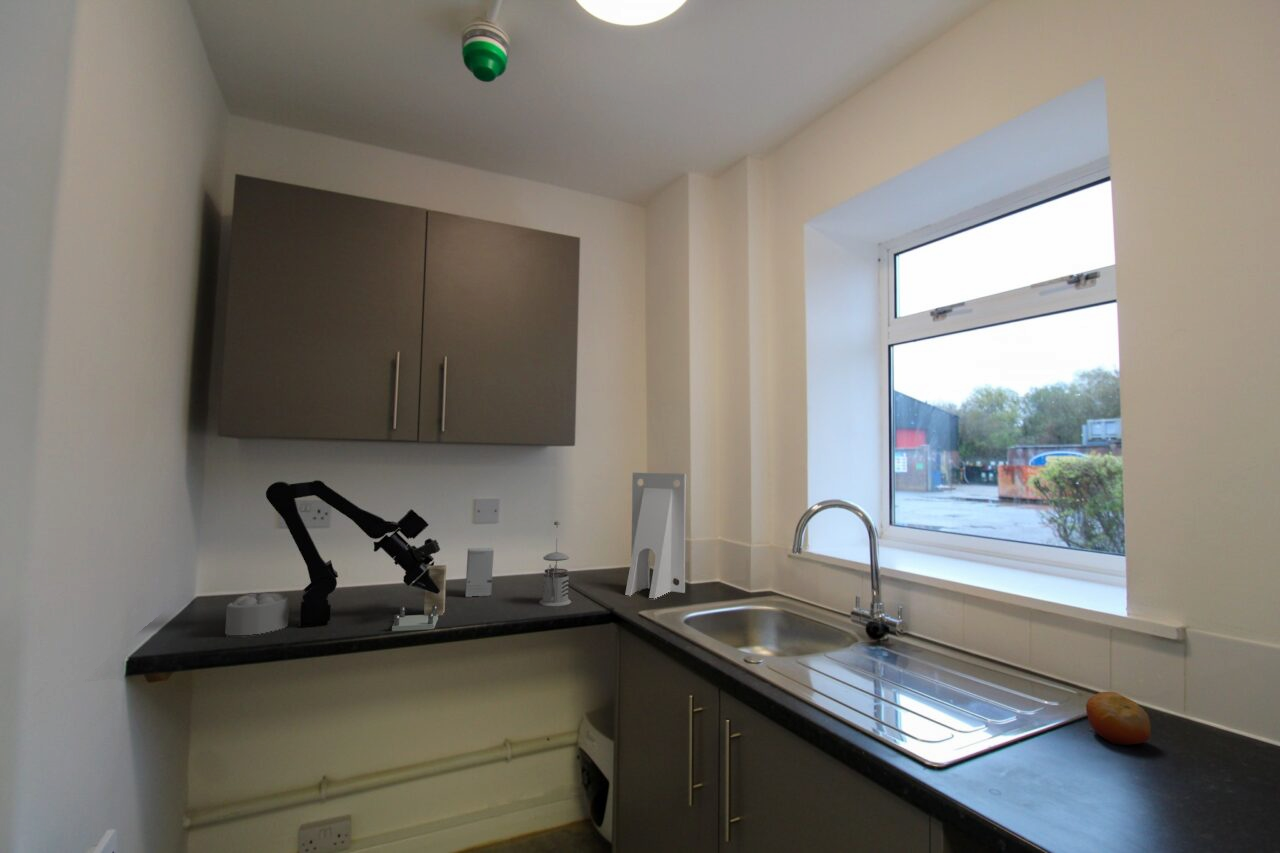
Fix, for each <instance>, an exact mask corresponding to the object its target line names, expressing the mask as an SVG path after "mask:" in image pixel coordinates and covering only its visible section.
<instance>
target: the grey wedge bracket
mask: <svg viewBox="0 0 1280 853" xmlns="http://www.w3.org/2000/svg"><path fill="white" fill-rule="evenodd" d="M640 479H641V480H642V482H643V483H642V485H640V484H639V480H640ZM676 480H677V481H679V486H676V485H675V482H676ZM686 484H687V474H686V473H671V472H670V473H668V472H632V486H631V487H632V489H631V490H632V492H631V493H632V495H631V497H632V498H631V500H632V501H631V555H630V557H631V559H630V560H631V561H630V566H629V572H628V577H627V581H626V582H627V583H626V588H625V593H624V594H625V595H629V596H628V597H632V596H631V595H633V594H636V593H638V592H641V591H643V590H645V589H647V588H648V589H650V590H649V595H648V599H649V598H654V599H653V600H656V599H658V598H657V597H659V598H660V596H661V597H662V595H663V596H665V595H667V594H669V593H670V592H672V593H673V592H674V593H681V594H682V593H683V594H685V593H686V519H687V518H686V512H687V510H686V509H687V508H686V506H687V505H686V503H687V496H686V495H687V492H686V490H687V488H686V487H687V485H686ZM651 550H652V552H653V553H654V558H655V560H654V564H653V565H654V566H653V570H652V571H653V572H652V576H651V582H650V573H651V572H650V568H651V566H650V565H651V564H650V559H651V557H650V556H651V555H650V554H651ZM674 579H677V580H678V582H679V583H678V584H675V583H674V581H675V580H674ZM650 584H651V585H650ZM642 589H643V590H642ZM637 591H638V592H637ZM635 592H636V593H635ZM668 592H669V593H668ZM666 593H667V594H666ZM664 594H665V595H664ZM625 595H624V596H625ZM655 598H656V599H655Z"/></svg>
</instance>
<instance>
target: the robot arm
mask: <svg viewBox="0 0 1280 853" xmlns="http://www.w3.org/2000/svg"><path fill="white" fill-rule="evenodd" d="M265 496H266V497H265V498H266V500H267V501H268V502H269V504H270V505H271V506H272V507H273V509H274V510H275V511H276V512H277V513H278V514H279V516H280V517H282V519H283V521H284V523H285V525H286V527H287V529H288V531H289V533H290V535H291V537H292V539H293V540H294V543H295V545H296V547H297V549H298V551H299V553H300V555H301V557H302V558H303V561H304V563H305V565H306V567H307V572H308V576H309V579H310V581H309V582H310V583H309V584H308V585H307V586H306V587H305V588H303V590H302V599H301V601H300V614H299V615H300V616H299V617H300V619H299V625H298V627H299V628H307V627H317V626H325V625H326V626H327V625H328V624H329V621H331V607H332V604H331V602H329V595H330V594H332V593H333V592H334V591H335V590H336V588H337V585H338V581H337V578H338V577H339V574H338V571H336V570H335V569H334V567H333V563H332V560H328V561H326V560H324V559H323V557H322V556H321V554H320V553H319V550H318V549H317V547H316V545H315V542H314V540H313V539H312V536H311V534H310V532H309V531H308V529H307V527H306V524H305V522H304V521H303V518H302V516H301V514H300V513H299V510H298V506H297V501H296V499H299V498H306V497H311V496H315V497H316V498H318V499H320V500H322V501H323V502H325V503H326V504H327V505H329V506H330V507H332V508H333V509H335V510H336V511H338V512H339V513H341V514H342V515H344V516H345V517H347V518H348V519H349V520H351V521H352V522H353V523H354V524H355V525H356V526H358V527H359V528H360V530H362V532H364V533H365V534H366V536H368V537H369V538H371V539H372V540H378V539H380V540H379V541H373V552H375V553H377V552H378V551H379V550H380V549H382V550H383V552H385V553H386V554H387V555H388V556H389V557H390V558H391V559H392V560H393V561H394V562H393V563H394V565H395V566H397V565H398V566H399V567H400V568H402V569H403V570H404V575H403V582H404V584H406V586H408V587H409V586H411V587H415V588H418V589H421V590H424V591H425V590H427V591H430V592H433V593H436V594H438V593H439V592H440V590H439V588H438V587H437V585H436V584H435V583H434V581H433V580H432V579H431V577H430V576H429V568H428V569H427V567H428V566H435V561H434V560H435V558H434V557H433V556H432V555H434V554H436V553H439V552H440V551H441V548H440V545H439V542H438V541H437V539H434V540H433V539H432V538H429V537H428V538H427V539H426V540H424V544H422V545H421V546H418V547H417V546H416V545H411V544H409V542H408V541H407V540H410V539H413V540H415V539H416V537H418V536H419V535H420V534H421V533H423V531H424V530H425V529H426V528H427V527H428V526H429V525H430V524H429V522H427V521H426V520H425V519H424V518H423V517H422V516H420V514H418V513H417V512H415V510H413V509H409V510H408V511H407V512H406V514H405V515H404V516H403V517H401V518H400V519H398V521H389V520H385V519H384V518H383V517H381V516H379V515H377V514H374V513H372V512H370V511H368V510H364V509H362V508H360V507H359V506H357V505H356V504H355V503H353V502H351V501H350V500H349V499H348V498H345V497H344V496H343V495H341V494H339V493H338V492H337V491H335V490H334V489H333V488H331V487H329V486H328V485H327V484H325V482H323V481H322V480H320V479H319V480H318V479H317V480H312V481H305V482H298V483H297V482H296V483H288V482H286V481H276V482H274V483H272V484H270V485H269V486H268V487H267V490H266V492H265ZM399 532H400V533H401V534H402V535H403V536H404V537H405V538H406V539H407V540H405V539H404V537H402V535H400V534H399ZM390 533H392V534H391V535H388V534H390ZM426 569H427V570H426Z"/></svg>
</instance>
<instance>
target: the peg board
mask: <svg viewBox="0 0 1280 853" xmlns="http://www.w3.org/2000/svg"><path fill="white" fill-rule="evenodd" d="M393 618H394V620H393V625H392V626H391V632H402V631H418V630H419V631H421V630H434V629H435V627H436V624H437V622H438V620H439V615H438V614H437V606H436V605H434V606H432V613H429V614H428V615H424V614H415V615H414V614H413V615H412V614H411V615H406V606H400V607H399V614H394V616H393Z"/></svg>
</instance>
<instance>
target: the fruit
mask: <svg viewBox="0 0 1280 853" xmlns="http://www.w3.org/2000/svg"><path fill="white" fill-rule="evenodd" d="M1085 710H1086V714H1087V719H1088V722H1089V724H1090V726H1091V728H1089V730H1088V731H1094V732H1095V733H1096V734H1097V735H1099V737H1100V738H1102V739H1105V740H1107V741H1108V742H1110V743H1111V744H1113V745H1118V746H1121V745H1122V746H1129V745H1139V744H1142V743H1144V742H1147V741H1148V740H1149V739H1150V738H1151V736H1152V735H1151V731H1152V730H1151V728H1152V724H1151V721H1150V716H1149V715H1148V713H1147V712H1146V711H1145V710H1144V708H1142V707H1140V705H1139V704H1138V703H1137V702H1136V701H1134V700H1133V699H1130V698H1128V697H1126V696H1124V695H1121V693H1118V692H1116V691H1102V692H1098V693H1096V694H1094V695H1092V696H1091V697H1089V698H1088V700H1087V702H1086V705H1085Z"/></svg>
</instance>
